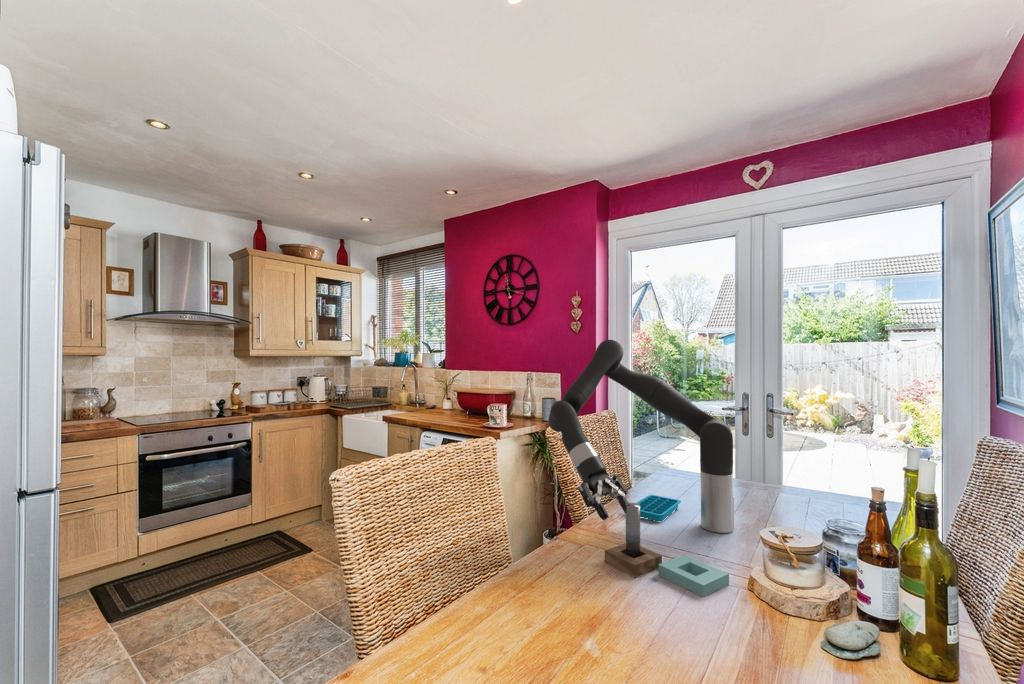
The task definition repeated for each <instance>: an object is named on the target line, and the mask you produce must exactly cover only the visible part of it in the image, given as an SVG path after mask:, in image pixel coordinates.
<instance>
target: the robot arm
mask: <svg viewBox="0 0 1024 684" xmlns="http://www.w3.org/2000/svg"><path fill="white" fill-rule="evenodd" d="M623 357H624V347H623V346H622V344H621V343H620V342H618V341H616V340H614V339H605V340H603V341H601V342H600V343H599V344H598V345H597V348H596V349H595V353H594V354H593V356H592V358H591V360H590V361H589V363H588V364H587V365H586V367H585V368H584V370H583V371H582V372H581V373H580V374H579V375H578V377H577V378H576V379H575V380H574V381H573V383H572V384H571V385H570V386H569V387H568V389H567V390H566V392H565V393H564V395H563V397H562V400H561V399H560V400H556V401H555V402H554V403H553V404H552V405H551V408H550V412H549V415H548V426H549V427H550V429H551V430H552V431H554V432H557V433H561V442H562V444H563V447H564V448H565V450H566V452H567V454H568V456H569V457H570V460H571V462H572V464H573V466H574V468H575V470H576V472H577V473H578V475H579V477H580V479H581V481H582V482H581V483H580V485H578V486H577V489H578V492H579V494H580V496H581V499H582V500H583V502H584V504H585V506H586V508H587V507H588V508H590V507H592V508H594V509H595V511H596V513H597V515H598V517H599V518H600V519H601V520H602V521H605V520H607V519H608V518H609V513H608V511H607V509H606V507H605V506H604V504H603V503H602V502H601V498H602V497H603V496H604V497H605V496H609V497H611V498H614V499H616V501H617V502H618V503H619V506H620V507H621V509H622V511H623V513H625V514H626V503H629V501H628V500H627V498H626V495H627V494H629V490H628V489H627V487H626V486H625V484H624V482H623V481H622V480H621V478H620V476H619V475H618V474H614V475H613V476H609V475H608V474H607V467H606V466H605V464H604V462H603V461H602V459H601V458H600V457H601V456H599V454H598V453H597V451H596V449H595V447H593V445H592V444H591V443H590V441H589V439H588V437H587V436H586V434H585V433H584V431H583V428H582V425H581V423H580V420H579V416H578V414H579V413H580V410H581V409H582V408H583V407H584V406H585V405H586V403H587V402H588V400H589V399H590V398H591V397H592V395H593V394H594V393H595V391H596V389H597V387H598V385H599V384H600V382H601V380H602V379H603V377H604V376H605V377H607V378H608V379H611V380H612V381H614V382H616V383H618V384H619V385H621V386H622V387H624V388H625V389H627V390H628V391H629V392H631V393H632V394H634V396H637V397H638V398H640V399H641V400H642V401H644V402H645V403H646V404H647V405H649V406H650V407H651V408H653V409H654V410H656V411H658V412H659V413H661V414H663V415H664V416H666V417H668V418H670V419H673V420H675V421H677V422H679V423H681V425H682V424H683V426H685V427H687V429H689V430H691V432H692V433H694V434H695V435H696V436H698V438H699V454H700V455H699V458H700V459H699V463H700V465H699V466H700V526H701V528H702V529H705V530H706V531H709V532H713V533H719V534H729V533H733V531H734V529H735V498H734V485H733V482H734V481H733V476H734V473H733V472H734V437H733V432H732V430H731V428H730V427H729V425H728V424H727V423H726V422H724V421H723V420H721V419H718V418H717V417H715V416H713V415H711V414H709V413H708V412H706V411H704V410H703V409H701V408H699V407H698V406H696V404H694V403H692V402H691V401H690V400H689V399H688V398H687V397H686V396H684V395H683V394H682V393H681V392H680V391H678V390H676V388H674V387H673V386H671V385H670V384H669V383H667V382H666V381H664V380H663V379H661V378H659V377H657V376H654V375H649V374H644V373H643V374H642V373H637V372H636V371H632V370H631V369H629V368H628V367H626V366H625V365H623V364H622V363H621V361H622V359H623Z"/></svg>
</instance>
